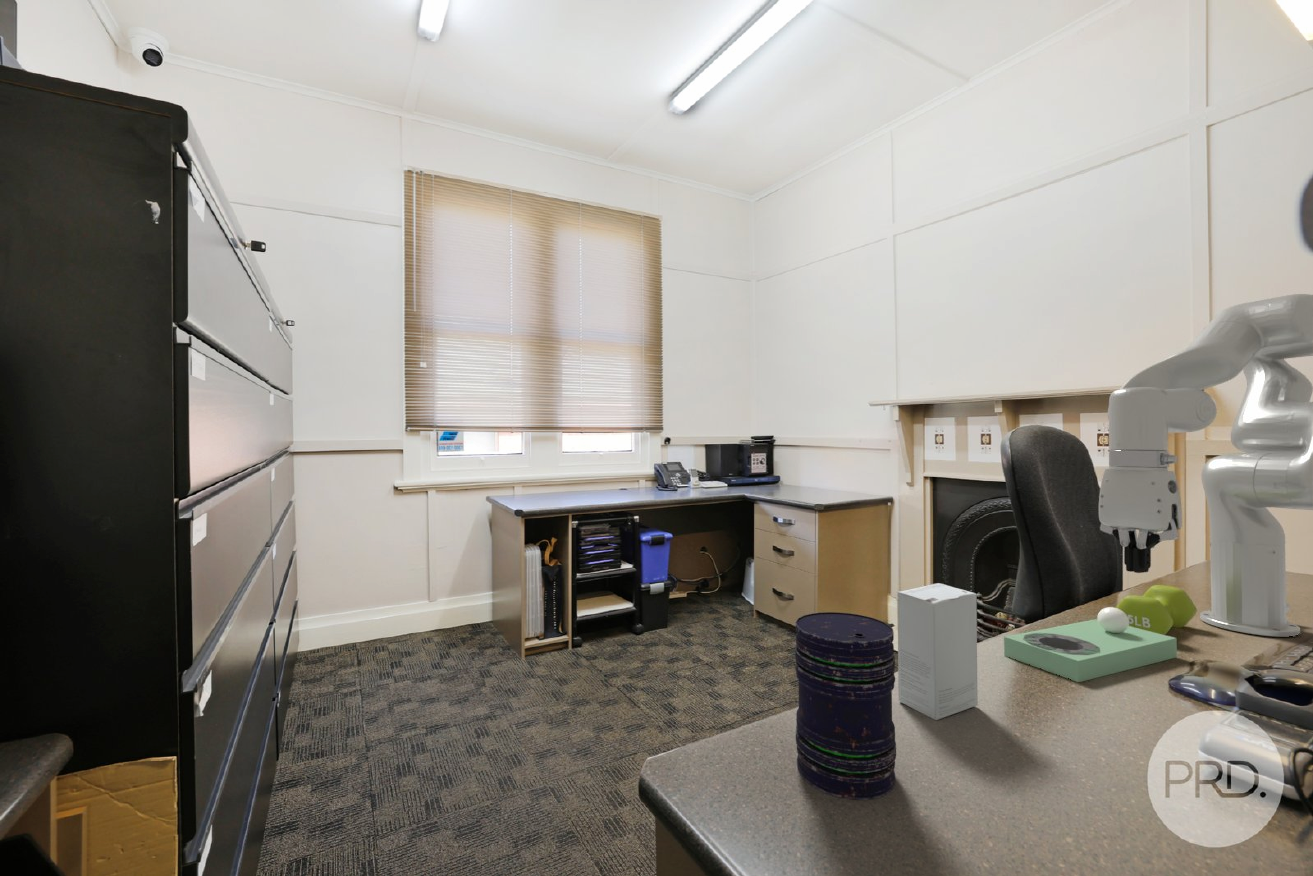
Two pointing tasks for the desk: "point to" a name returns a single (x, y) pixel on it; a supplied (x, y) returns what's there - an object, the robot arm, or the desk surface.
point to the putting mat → (1089, 649)
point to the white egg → (1113, 620)
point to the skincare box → (937, 649)
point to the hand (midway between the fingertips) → (1137, 571)
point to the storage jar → (845, 704)
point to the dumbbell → (1158, 609)
